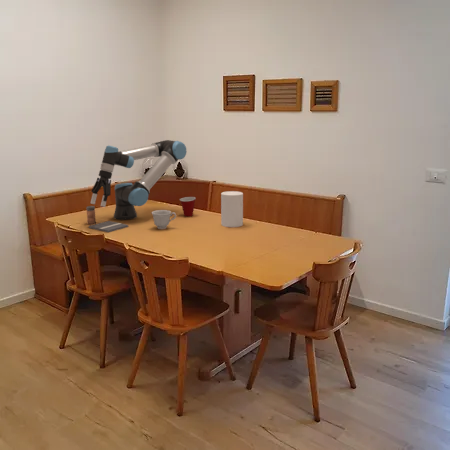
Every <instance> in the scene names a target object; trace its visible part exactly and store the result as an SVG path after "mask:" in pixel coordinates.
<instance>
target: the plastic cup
mask: <svg viewBox="0 0 450 450" xmlns="http://www.w3.org/2000/svg"><path fill="white" fill-rule="evenodd" d="M179 201H180V204H181V207H182V212H183V216H184V217H189V218H190V217H193V215H194V209H195V203H196V197H195V196H185V197H182V198H179Z"/></svg>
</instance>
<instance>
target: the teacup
mask: <svg viewBox="0 0 450 450" xmlns="http://www.w3.org/2000/svg"><path fill="white" fill-rule="evenodd" d="M151 214H152V217H153V222H154V223H153V224H154V225H155V226H156V227H157V229H158V230H165V229H167V228H168V226H169V224H170V222H171V221H174V220H176V219H177V214H176V212H172V211H171V210H169V209H168V210H167V209H157V210H153V211H151ZM173 215H174V217H173V218H171V217H172V216H173Z"/></svg>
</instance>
